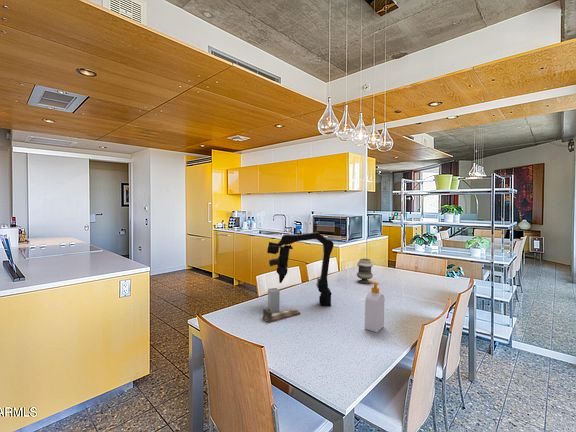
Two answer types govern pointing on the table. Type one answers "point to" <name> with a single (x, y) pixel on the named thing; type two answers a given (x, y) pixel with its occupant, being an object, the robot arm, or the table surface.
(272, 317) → the rail board
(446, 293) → the table surface
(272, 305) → the block
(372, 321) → the soap bottle
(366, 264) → the stone urn vase
